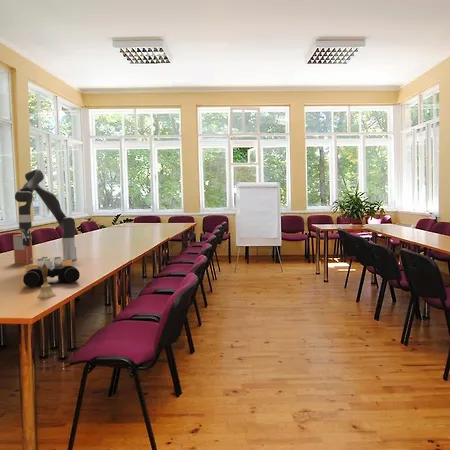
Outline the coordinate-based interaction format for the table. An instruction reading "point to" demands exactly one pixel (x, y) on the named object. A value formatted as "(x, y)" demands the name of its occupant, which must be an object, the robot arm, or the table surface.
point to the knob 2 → (61, 262)
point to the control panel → (22, 250)
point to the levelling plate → (49, 263)
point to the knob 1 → (35, 265)
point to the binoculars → (51, 275)
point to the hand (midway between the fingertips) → (26, 245)
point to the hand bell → (45, 285)
